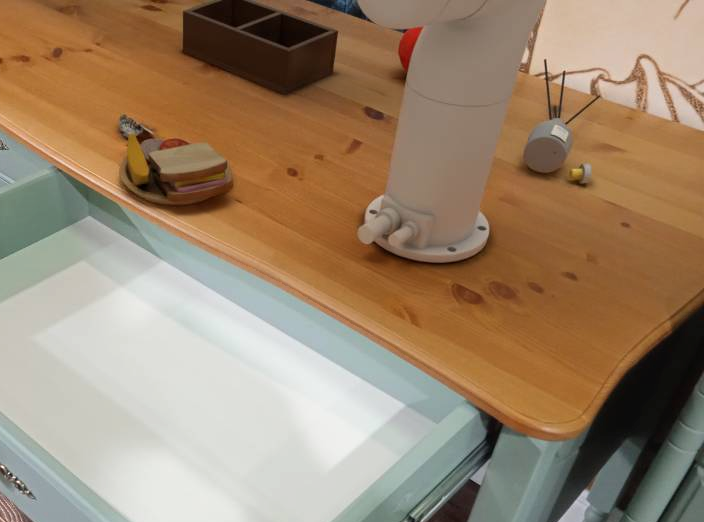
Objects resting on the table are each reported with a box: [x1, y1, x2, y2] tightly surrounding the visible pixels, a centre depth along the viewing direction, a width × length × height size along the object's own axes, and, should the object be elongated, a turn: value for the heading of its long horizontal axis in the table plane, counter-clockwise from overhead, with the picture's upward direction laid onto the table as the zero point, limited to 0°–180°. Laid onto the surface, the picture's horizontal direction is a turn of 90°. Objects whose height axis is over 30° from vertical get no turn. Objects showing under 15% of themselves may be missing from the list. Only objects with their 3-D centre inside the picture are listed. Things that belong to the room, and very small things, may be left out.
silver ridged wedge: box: [118, 113, 156, 138], centre depth 104 cm, size 6×2×3 cm
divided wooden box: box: [182, 0, 339, 96], centre depth 118 cm, size 10×19×6 cm, turn 44°
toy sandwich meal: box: [118, 134, 234, 206], centre depth 94 cm, size 12×14×5 cm
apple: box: [397, 26, 424, 74], centre depth 114 cm, size 8×8×7 cm
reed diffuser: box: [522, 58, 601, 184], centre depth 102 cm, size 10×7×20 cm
